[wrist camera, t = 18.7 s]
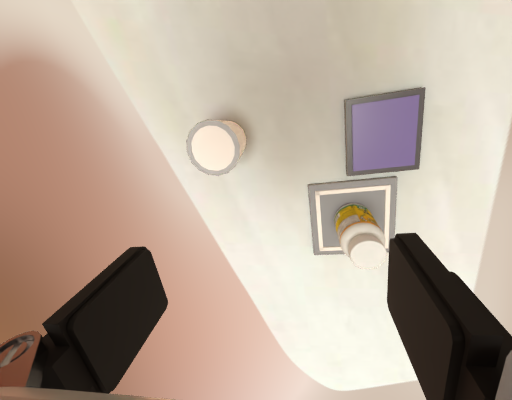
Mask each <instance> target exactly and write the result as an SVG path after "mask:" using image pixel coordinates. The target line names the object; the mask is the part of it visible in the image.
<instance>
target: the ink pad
mask: <svg viewBox="0 0 512 400" xmlns="http://www.w3.org/2000/svg"><path fill="white" fill-rule="evenodd" d="M424 99H425V88H417V89H411V90H405V91H398V92H392V93H386V94H379V95H373V96H367V97H361V98H354V99H348V100H345V135H346V171H347V176H354V175H364V174H374V173H384V172H394V171H405V170H415V169H419V164H420V151H421V138H422V125H423V112H424Z"/></svg>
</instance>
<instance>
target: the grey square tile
mask: <svg viewBox="0 0 512 400" xmlns="http://www.w3.org/2000/svg"><path fill="white" fill-rule="evenodd" d="M308 189H309V201H310V213H311V224H312V236H313V248H314V255H329V254H345V253H344V252H343V250H342V248H341V246H340V242H339V239H338V235H337V231H336V228H335V224H334V217H335V214H336V212H337V211H338V210H339V209H340V208H341V207H342V206H344V205H346V204H350V203H356V204H360V205H363V206H365V207H366V208H367V209H368V210H369V211H370V212H371V214H372V216H373V217H374V219H375V221H376V222H377V224H378V225H379V227H380V229H381V230H382V232H383V234H384V236H385V249H386V252H389V242H390V239H391V238H395V217H396V195H397V177H396V176H394V177H383V178H373V179H362V180H352V181H341V182H330V183H320V184H309V185H308Z"/></svg>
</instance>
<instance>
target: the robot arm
mask: <svg viewBox="0 0 512 400" xmlns="http://www.w3.org/2000/svg"><path fill="white" fill-rule="evenodd" d="M387 303H388V308H389V311H390V313H391V316H392V318H393V321H394V323H395V325H396V328H397V330H398V333H399V335H400V337H401V340H402V342H403V345H404V347H405V349H406V352H407V354H408V356H409V359H410V361H411V364H412V366H413V368H414V371H415V373H416V376H417V378H418V380H419V383H420V385H421V387H422V390H423V392H424V395H425V397H426V400H512V336H511V335H510V334H509V333H508V331H507V330H506V329H505V328H504V327H503V326H502V325H501V324H500V323H499V321H498V320H497V319H496V318H495V317H494V316H493V315H492V313H490V311H489V310H488V309H487V308H486V307H485V306H484V304H483V303H482V302H481V301H480V300H479V299H478V298H477V297H476V296H475V294H474V293H473V292H472V291H471V290H470V289H469V288H468V286H467V285H466V284H465V283H464V282H463V281H462V280H461V279H460V277H459V276H458V275H456V274H455V273H453V272H449V271H448V270H447V269H446V267H445V266H444V265H443V264H442V263H441V262H440V260H439V259H438V258H437V257H436V256H435V255H434V253H433V252H432V251H431V250H430V249H429V248H428V246H427V245H426V244H425V243H424V242H423V241H422V239H421V238H420V237H419V236H418V235H417V234H416V233H404V234H396V236H395V238H391V239H390V242H389V266H388V292H387ZM167 305H168V300H167V297H166V294H165V291H164V288H163V286H162V283H161V280H160V277H159V274H158V271H157V268H156V266H155V263H154V260H153V257H152V254H151V252H150V251H149V250H147V248H146V247H130V248H129V249H128V250H126V251H125V252H124V253H123V254H122V255H121V256H120V257H118V258H117V259H116V260H115V261H114V262H113V263H111V264H110V265H109V266H108V267H107V268H106V269H105V270H104V271H102V272H101V273H100V274H99V275H98V276H97V277H95V279H93V280H92V281H91V282H90V283H88V284H87V285H86V286H85V287H84V288H83V289H82V290H80V291H79V292H78V293H77V294H76V295H75V296H74V297H72V298H71V299H70V300H69V301H68V302H67V303H66V304H64V305H63V306H62V307H61V308H60V309H59V310H58V311H56V312H55V313H54V314H53V315H52V316H51V317H50V318H48V319H47V320H46V321H45V322H44V323H43V324H42V325H43V326H44V328H45V330H46V331H47V334H46V335H45V336H44V337H42V335H41V334H40V333H39V332H38V331H28V332H24V333H22V334H19V335H16V336H14V337H12V338H10V339H8V340H7V341H6V342H3V343H2V344H0V400H174V399H163V398H151V397H141V396H130V395H118V394H109V393H110V392H111V391H113V390H114V389H115V388H116V386H117V385H118V383H119V382H120V380H121V379H122V377H123V375H124V374H125V372H126V371H127V369H128V368H129V366H130V365H131V363H132V361H133V360H134V358H135V357H136V355H137V354H138V352H139V350H140V349H141V347H142V346H143V344H144V343H145V341H146V340H147V338H148V336H149V335H150V333H151V332H152V330H153V329H154V327H155V325H156V324H157V322H158V321H159V319H160V318H161V316H162V314H163V313H164V311H165V310H166V308H167Z"/></svg>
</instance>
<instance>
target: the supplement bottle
mask: <svg viewBox="0 0 512 400" xmlns="http://www.w3.org/2000/svg"><path fill="white" fill-rule="evenodd" d="M334 224H335V228H336V231H337V235H338V239H339V242H340V246H341V248H342V250H343V252H344V253H345V254H346V255H347V256H348V257H350V259H351V261H352V263H353V264H354V265H355V266H357V267H359V268H361V269H374V268H377V267H379V266H380V265H382V264H383V263H384V262H385V260H386V257H387V252H386V249H385V236H384V234H383V232H382V230H381V229H380V227H379V225H378V224H377V222H376V221H375V219H374V217H373V216H372V214H371V212H370V211H369V210H368V209H367V208H366V207H365V206H363V205H360V204H356V203H350V204H346V205H344V206H342V207H341V208H340V209H339V210H338V211H337V212H336V214H335V217H334Z"/></svg>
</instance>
